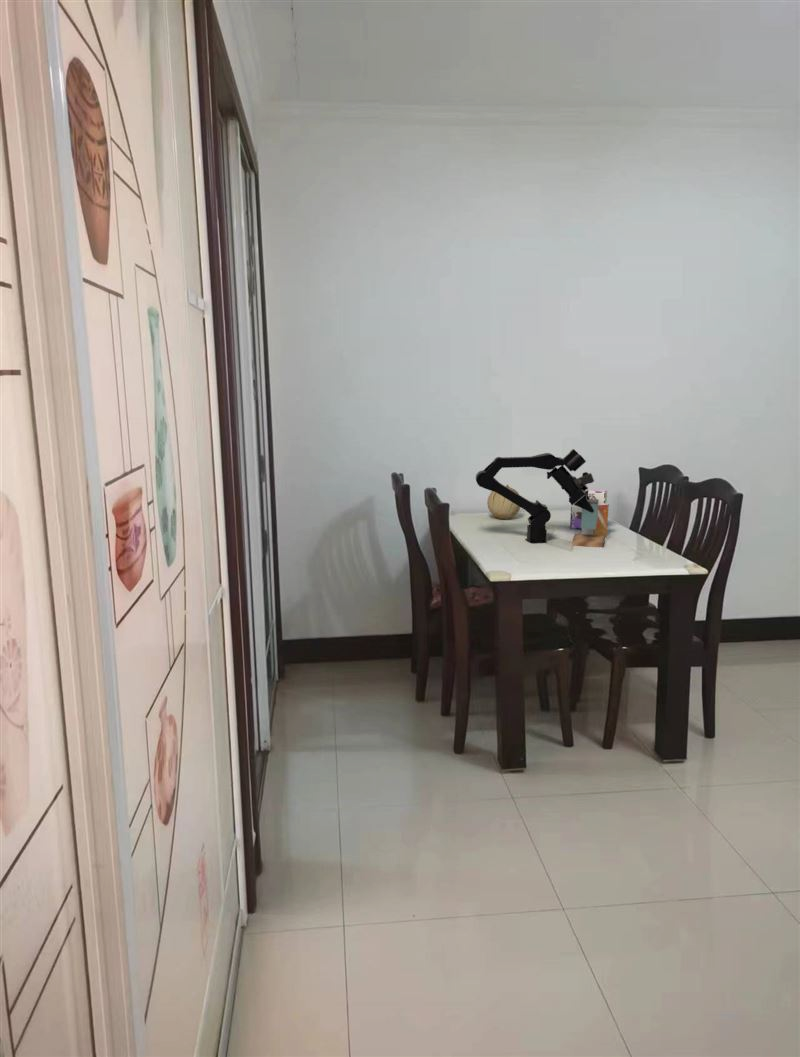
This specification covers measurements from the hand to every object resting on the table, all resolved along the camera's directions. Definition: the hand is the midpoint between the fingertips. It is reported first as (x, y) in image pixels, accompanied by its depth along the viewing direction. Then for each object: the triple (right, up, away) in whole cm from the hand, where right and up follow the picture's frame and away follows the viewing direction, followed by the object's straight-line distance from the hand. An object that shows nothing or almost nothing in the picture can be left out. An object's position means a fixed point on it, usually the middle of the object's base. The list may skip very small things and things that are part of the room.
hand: (593, 510), depth 299 cm
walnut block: (-1, -13, +3) cm, 13 cm away
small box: (+4, -10, +17) cm, 21 cm away
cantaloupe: (-27, -3, +53) cm, 60 cm away
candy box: (+5, -7, +32) cm, 33 cm away
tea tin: (-1, -6, +2) cm, 7 cm away
